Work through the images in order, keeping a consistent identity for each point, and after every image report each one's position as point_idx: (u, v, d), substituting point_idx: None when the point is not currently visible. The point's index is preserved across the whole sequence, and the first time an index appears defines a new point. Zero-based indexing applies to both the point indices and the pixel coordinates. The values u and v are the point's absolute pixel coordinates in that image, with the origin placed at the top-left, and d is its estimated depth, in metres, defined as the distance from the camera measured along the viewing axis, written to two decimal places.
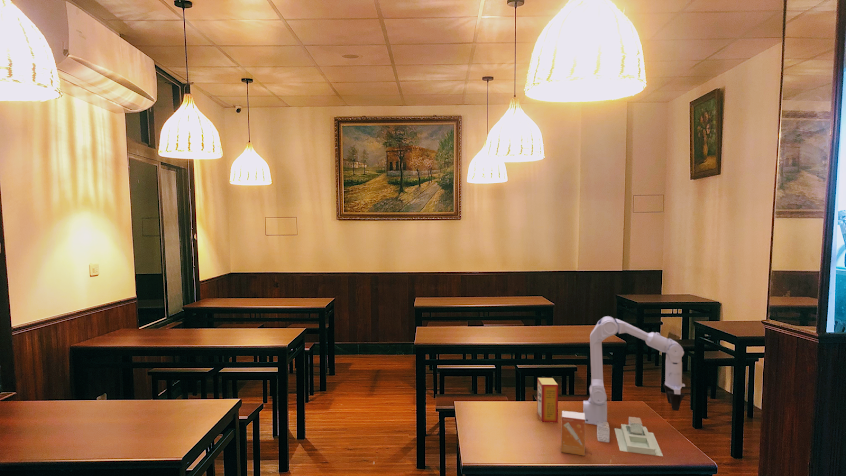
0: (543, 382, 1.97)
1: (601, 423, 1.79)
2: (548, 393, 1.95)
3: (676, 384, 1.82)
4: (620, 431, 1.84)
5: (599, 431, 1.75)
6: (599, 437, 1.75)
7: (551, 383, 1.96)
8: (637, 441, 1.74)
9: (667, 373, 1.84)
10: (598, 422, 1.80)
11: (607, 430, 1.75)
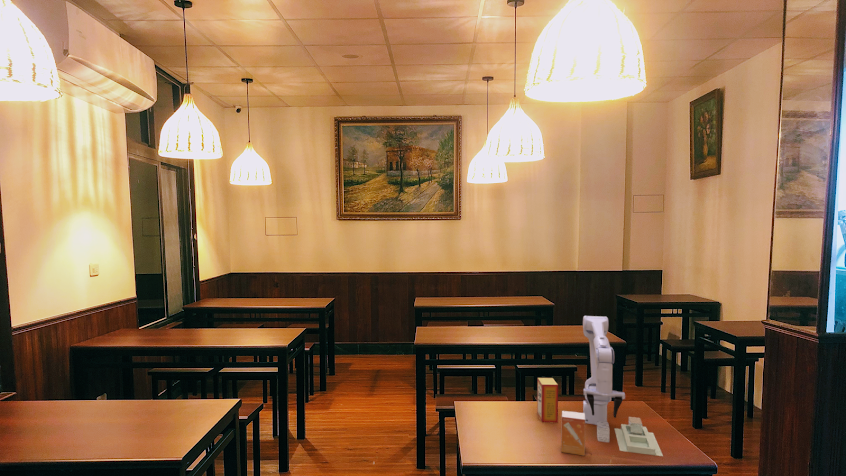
0: (543, 382, 1.97)
1: (601, 423, 1.79)
2: (548, 393, 1.95)
3: (596, 389, 1.78)
4: (620, 431, 1.84)
5: (599, 431, 1.75)
6: (599, 437, 1.75)
7: (551, 383, 1.96)
8: (637, 441, 1.74)
9: None
10: (598, 422, 1.80)
11: (607, 430, 1.75)
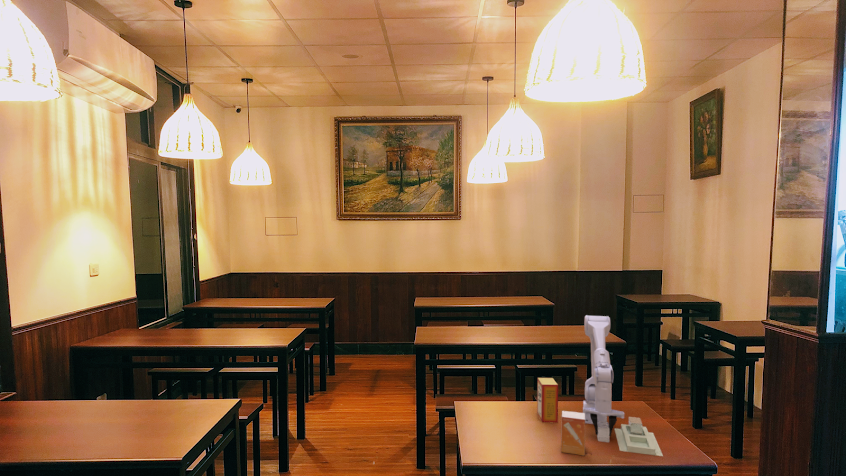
0: (543, 382, 1.97)
1: (601, 423, 1.79)
2: (548, 393, 1.95)
3: (595, 408, 1.78)
4: (620, 431, 1.84)
5: (599, 431, 1.75)
6: (599, 437, 1.75)
7: (551, 383, 1.96)
8: (637, 441, 1.74)
9: None
10: (598, 422, 1.80)
11: (607, 430, 1.75)
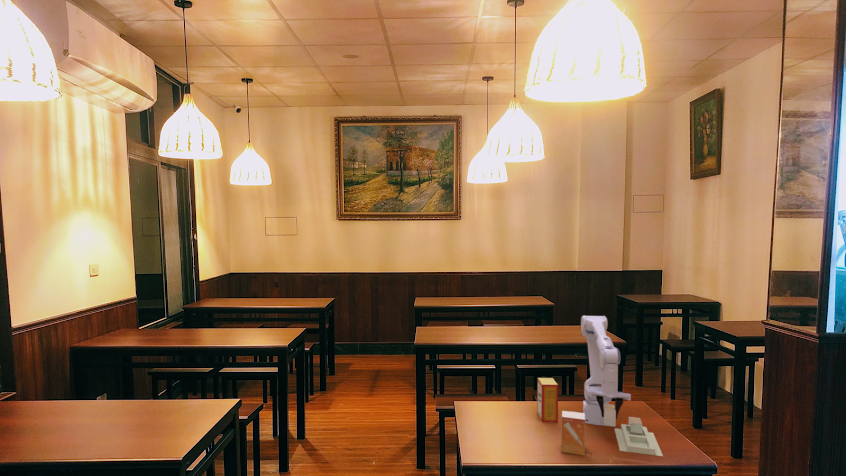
0: (543, 382, 1.97)
1: (607, 405, 1.78)
2: (548, 393, 1.95)
3: (601, 390, 1.77)
4: (620, 431, 1.84)
5: (605, 413, 1.74)
6: (605, 419, 1.74)
7: (551, 383, 1.96)
8: (637, 441, 1.74)
9: None
10: (604, 404, 1.79)
11: (613, 412, 1.73)
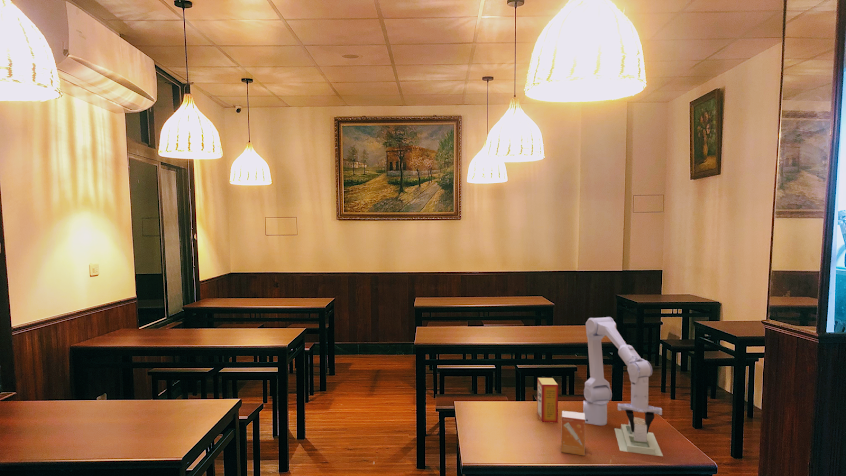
0: (543, 382, 1.97)
1: (637, 420, 1.72)
2: (548, 393, 1.95)
3: (631, 404, 1.71)
4: (620, 431, 1.84)
5: (636, 428, 1.68)
6: (636, 434, 1.68)
7: (551, 383, 1.96)
8: (637, 441, 1.74)
9: None
10: None
11: (644, 427, 1.67)
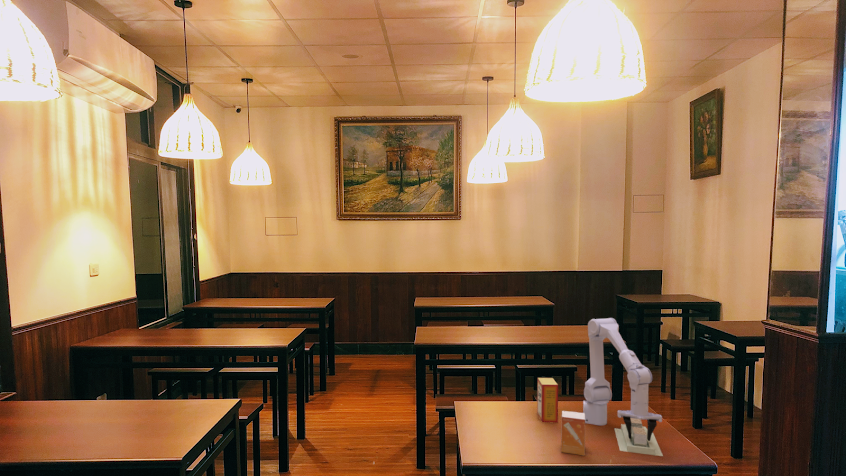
0: (543, 382, 1.97)
1: (637, 429, 1.72)
2: (548, 393, 1.95)
3: (631, 411, 1.71)
4: (620, 431, 1.84)
5: (635, 437, 1.68)
6: (635, 444, 1.68)
7: (551, 383, 1.96)
8: None
9: None
10: (633, 428, 1.73)
11: (644, 436, 1.67)
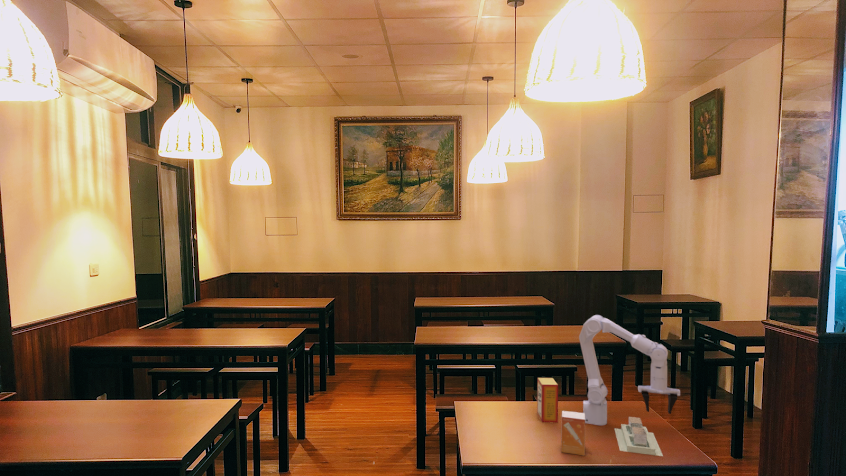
0: (543, 382, 1.97)
1: (637, 429, 1.72)
2: (548, 393, 1.95)
3: (651, 386, 1.82)
4: (620, 431, 1.84)
5: (635, 437, 1.68)
6: (635, 444, 1.68)
7: (551, 383, 1.96)
8: None
9: None
10: (633, 428, 1.73)
11: (644, 436, 1.67)
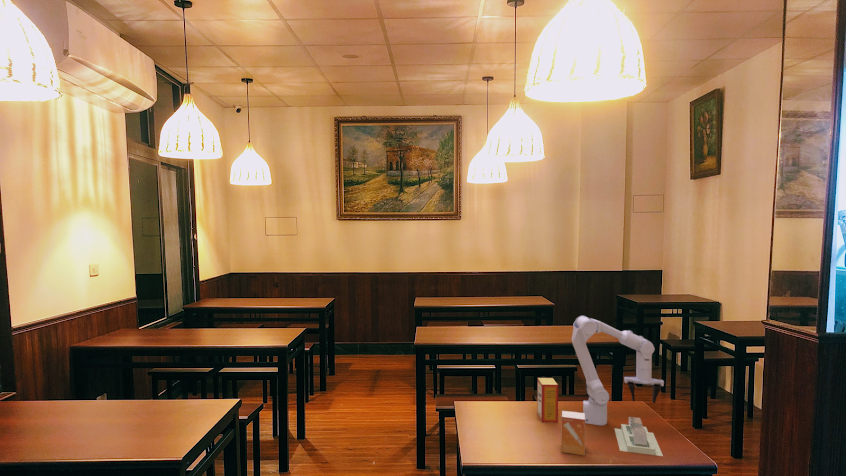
0: (543, 382, 1.97)
1: (637, 429, 1.72)
2: (548, 393, 1.95)
3: (636, 377, 1.93)
4: (620, 431, 1.84)
5: (635, 437, 1.68)
6: (635, 444, 1.68)
7: (551, 383, 1.96)
8: None
9: None
10: (633, 428, 1.73)
11: (644, 436, 1.67)
